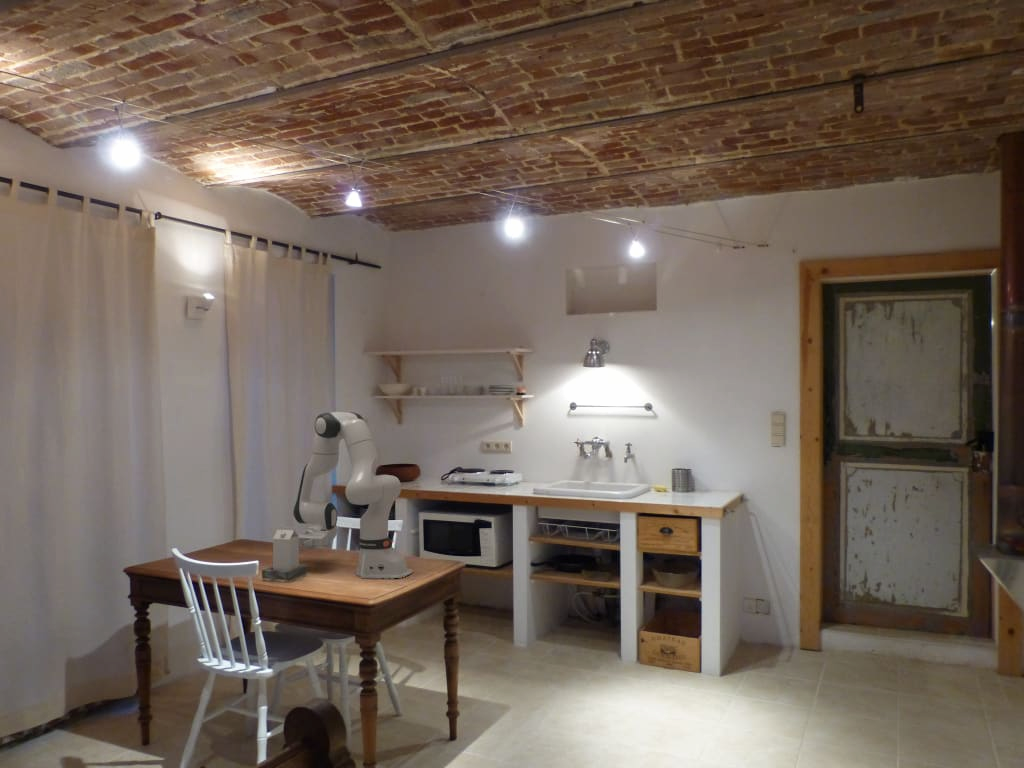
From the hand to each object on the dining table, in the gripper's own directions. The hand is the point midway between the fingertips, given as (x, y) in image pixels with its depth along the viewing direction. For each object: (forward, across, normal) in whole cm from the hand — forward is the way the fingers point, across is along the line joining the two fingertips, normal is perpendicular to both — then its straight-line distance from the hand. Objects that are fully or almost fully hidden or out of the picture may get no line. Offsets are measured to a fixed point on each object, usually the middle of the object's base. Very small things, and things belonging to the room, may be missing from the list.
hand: (292, 543), depth 304 cm
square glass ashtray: (+6, 0, +12) cm, 14 cm away
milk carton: (+6, +1, +12) cm, 13 cm away
